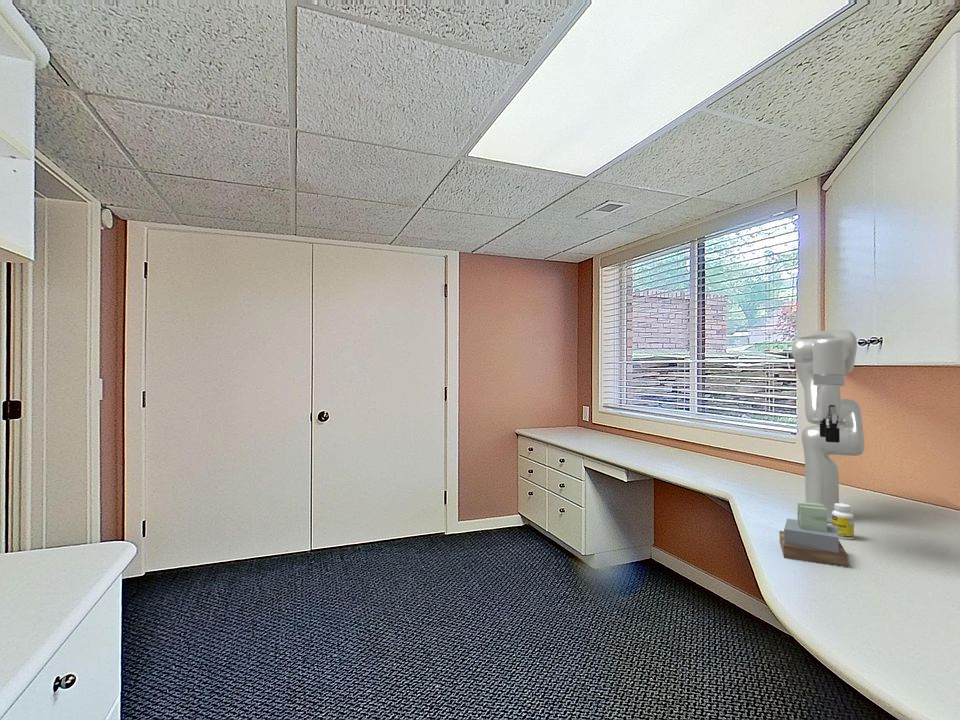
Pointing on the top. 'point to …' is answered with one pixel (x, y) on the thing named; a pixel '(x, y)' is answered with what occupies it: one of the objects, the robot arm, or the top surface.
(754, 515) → the top surface
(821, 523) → the sage cube
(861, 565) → the top surface
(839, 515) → the supplement bottle
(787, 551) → the tower base block
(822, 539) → the tower top block
